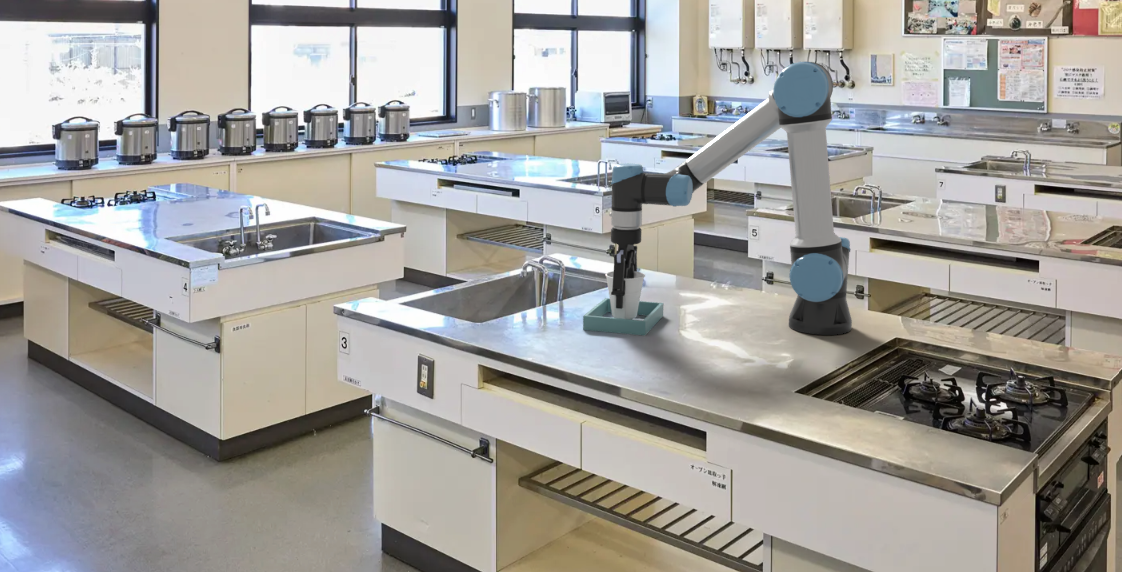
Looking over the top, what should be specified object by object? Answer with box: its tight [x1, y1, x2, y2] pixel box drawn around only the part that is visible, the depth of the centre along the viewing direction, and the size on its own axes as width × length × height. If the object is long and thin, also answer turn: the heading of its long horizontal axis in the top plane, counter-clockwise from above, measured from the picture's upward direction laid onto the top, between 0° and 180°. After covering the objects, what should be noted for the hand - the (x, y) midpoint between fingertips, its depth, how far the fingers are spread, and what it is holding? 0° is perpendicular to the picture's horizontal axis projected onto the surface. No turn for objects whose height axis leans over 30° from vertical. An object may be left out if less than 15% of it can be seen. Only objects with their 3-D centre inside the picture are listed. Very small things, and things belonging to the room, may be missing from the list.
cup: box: [605, 270, 646, 320], centre depth 248 cm, size 10×10×11 cm
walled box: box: [582, 297, 665, 336], centre depth 250 cm, size 16×20×4 cm
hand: (624, 316), depth 250 cm, fingers closed on cup, 8 cm apart
